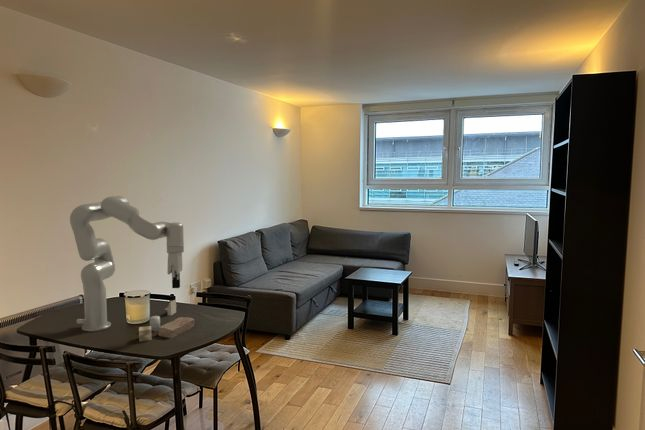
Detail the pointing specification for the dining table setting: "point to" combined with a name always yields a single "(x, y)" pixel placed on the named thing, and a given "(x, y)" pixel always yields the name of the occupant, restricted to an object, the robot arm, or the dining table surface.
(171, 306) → the architectural model
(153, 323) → the grey cylinder
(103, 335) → the dining table surface
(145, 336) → the beech cube
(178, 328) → the brick
